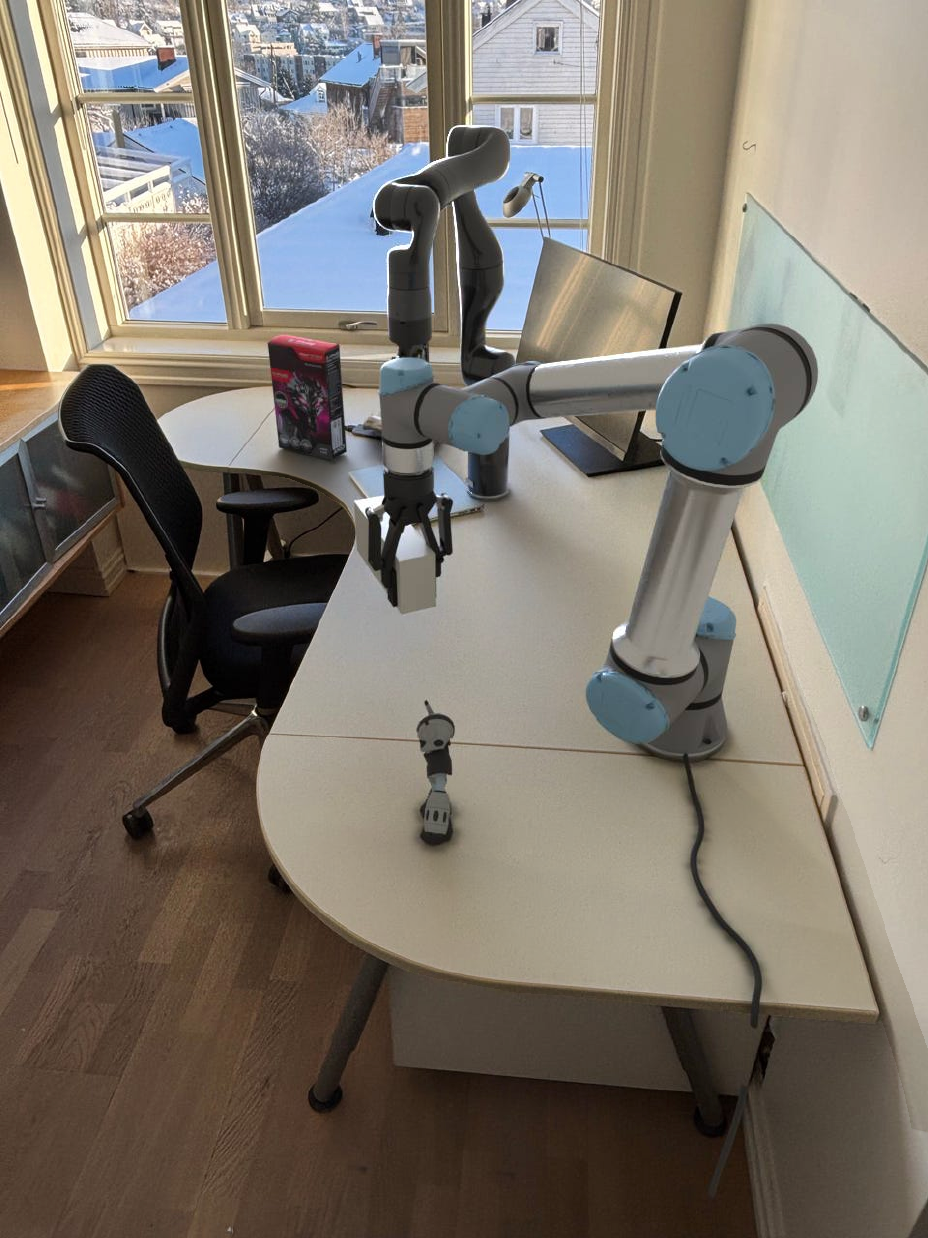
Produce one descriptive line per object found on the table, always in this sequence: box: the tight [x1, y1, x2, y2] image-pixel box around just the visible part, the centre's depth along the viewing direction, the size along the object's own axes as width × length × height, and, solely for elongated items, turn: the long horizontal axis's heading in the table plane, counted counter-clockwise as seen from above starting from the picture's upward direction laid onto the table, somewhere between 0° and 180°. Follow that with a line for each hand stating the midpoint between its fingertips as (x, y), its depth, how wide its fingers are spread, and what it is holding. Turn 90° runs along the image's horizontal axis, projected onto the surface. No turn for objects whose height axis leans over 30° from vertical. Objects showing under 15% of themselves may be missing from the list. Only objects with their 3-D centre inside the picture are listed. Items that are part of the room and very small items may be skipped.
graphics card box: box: [267, 333, 348, 461], centre depth 223 cm, size 17×7×27 cm, turn 62°
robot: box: [415, 699, 456, 846], centre depth 121 cm, size 20×5×20 cm, turn 3°
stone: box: [362, 411, 439, 449], centre depth 234 cm, size 21×15×6 cm
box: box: [353, 495, 437, 615], centre depth 153 cm, size 22×6×10 cm, turn 24°
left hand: (411, 403), depth 167 cm, fingers open, 8 cm apart
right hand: (412, 598), depth 149 cm, fingers closed on box, 6 cm apart
